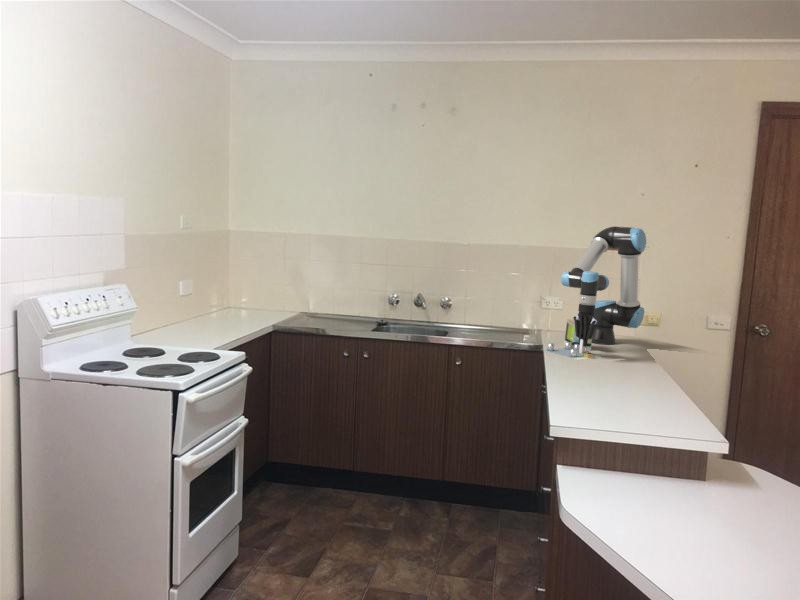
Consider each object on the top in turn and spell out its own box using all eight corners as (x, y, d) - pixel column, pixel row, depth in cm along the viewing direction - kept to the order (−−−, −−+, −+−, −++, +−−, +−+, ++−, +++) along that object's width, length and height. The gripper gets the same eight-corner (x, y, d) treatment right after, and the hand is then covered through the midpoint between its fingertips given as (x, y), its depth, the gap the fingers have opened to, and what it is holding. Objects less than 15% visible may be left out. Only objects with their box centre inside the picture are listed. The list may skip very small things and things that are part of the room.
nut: (585, 355, 320) (585, 351, 319) (594, 357, 316) (595, 353, 316) (580, 356, 317) (580, 352, 316) (590, 358, 313) (590, 354, 313)
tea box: (591, 353, 334) (594, 324, 332) (571, 352, 334) (574, 323, 332) (582, 347, 349) (585, 319, 347) (563, 346, 349) (566, 318, 347)
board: (567, 350, 337) (567, 347, 337) (603, 359, 320) (603, 356, 320) (542, 352, 327) (543, 350, 327) (578, 362, 309) (579, 359, 309)
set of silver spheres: (566, 348, 336) (566, 341, 336) (593, 355, 322) (594, 348, 322) (545, 350, 327) (546, 343, 327) (573, 357, 313) (574, 350, 313)
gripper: (571, 302, 318) (566, 350, 322) (593, 306, 308) (588, 356, 311) (581, 301, 323) (576, 349, 326) (603, 305, 313) (598, 355, 316)
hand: (582, 352), depth 319 cm, fingers closed
